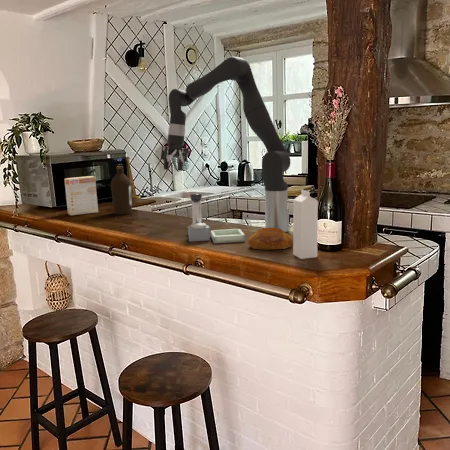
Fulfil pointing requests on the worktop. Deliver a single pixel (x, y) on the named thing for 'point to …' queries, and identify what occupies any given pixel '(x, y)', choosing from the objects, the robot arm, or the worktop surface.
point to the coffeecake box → (81, 195)
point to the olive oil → (121, 193)
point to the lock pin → (196, 207)
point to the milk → (305, 226)
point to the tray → (227, 236)
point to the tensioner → (198, 232)
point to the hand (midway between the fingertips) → (172, 170)
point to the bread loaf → (270, 239)
